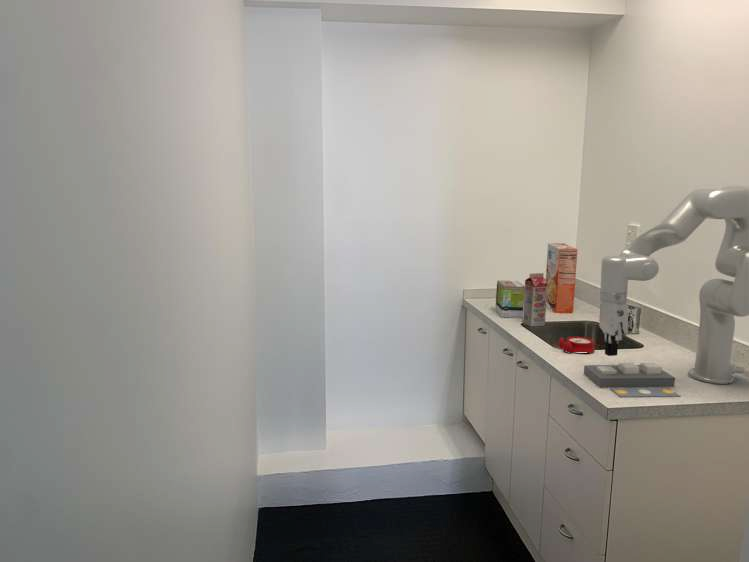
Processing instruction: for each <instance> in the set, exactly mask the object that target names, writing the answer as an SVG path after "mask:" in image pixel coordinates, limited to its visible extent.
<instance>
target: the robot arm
mask: <svg viewBox="0 0 749 562" xmlns="http://www.w3.org/2000/svg"><path fill="white" fill-rule="evenodd" d="M707 219H709V220H710V219H712V220H724V222H725V230H724V234H723V237H722V240H721V243H720V246H719V250H718V253H717V255H716V258H715V262H714V263H715V266H714V267H715V269H716V270H717V272H718V273H721V274H722V275H725V276H728V277H731V278H734V279H733V281H731V280H727V279H724V278H712V279H709V280H707V281H705V282H704V283H703V284H702V285H701V287H700V290H699V293H698V294H699V295H698V296H699V297H698V298H699V300H698V301H699V309H700V311H699V313H700V314H699V316H700V317H699V326H698V333H697V342H696V343H697V344H696V352H695V361H694V367H692V368H690V369H688V372H687V373H688V376H689V377H691V378H693V379H695V380H697V381H700V382H704V383H708V384H716V385H717V384H718V385H726V384H727V385H728V383H729V384H732V383H734V381H735V376H734V374H743V373H745V368H744V367H743V366H738V367H737V366H735V365H734V364H732V365H731V361H732V360H731V358H732V351H733V345H734V344H733V343H734V336H735V331H736V330H735V329H736V328H735V327H736V324H735V323H736V322H735V317H739V318H744V317H747V316H749V186H744V185H742V186H741V185H730V186H724V187H722V188H721V189H718V188H717V189H715V188H714V189H713V188H712V189H711V188H698V189H694V190H693V191H691V192H689V193H688V194H687V195H686V196H685V197H684V198H683V199H682V200H681V201H680V203H679V204H678V205H677V206H676V207H674V208H673V209H672V211H670V212H669V214H668V215H667V216H666V217H665V218H664V219H663V220H662V221H661V222H660V223H658V224H656V225H655V226H653V227H651V228H649V229H648V230H647V231H645V232H643V233H641V234H640V235H638V236H637V237H636V238H635V239H633V240H632V241H631V242H630V243H628V245H627V246H626V247H625V248H624V249H623V250H622V251H621V252H620V254H619V255H607V256H604V257H603V258H602V260H601V272H600V273H601V274H600V293H599V294H600V295H599V296H600V298H599V301H600V307H599V308H600V309H599V319H598V321H599V322H598V324H599V328H600V329H601V330H602V333H603V334H604V342H605V343H604V354H605V355H606V356H608V357H611V356H612V357H615V356H617V355H618V349H619V348H618V347H619V345H618V344H619V341H620V342H621V341H622V340H623V336H628V333H629V317H628V316H629V313H628V304H627V303H628V284H629V281H637V282H638V281H640V282H647V281H651V280H653V279H654V278H655V277H656V276H657V275H658V273H659V271H660V267H659V262H657V261H656V260H655V259H654V258H653V257H651V255H652V254H654V253H655V252H658V251H659V250H662V249H665V248H668V247H673V246H676V245H679V244H681V243H683V242H685V241H686V240H687V239H688V238H689V237H690V236H691V235H692V234H693V233H694V232H695V231H696V230H697V229H698V227H699V226H700V225H701V224H702V223H703V222H704V221H705V220H707ZM622 335H623V336H622Z"/></svg>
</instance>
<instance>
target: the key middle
mask: <svg viewBox="0 0 749 562" xmlns="http://www.w3.org/2000/svg"><path fill="white" fill-rule="evenodd" d="M618 365H619V366H618V370H619V371H621V372H622V373H624V374H639V367H638V366H637V365H638V364H636V363H633V362H618Z"/></svg>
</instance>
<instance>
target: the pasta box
mask: <svg viewBox="0 0 749 562" xmlns="http://www.w3.org/2000/svg"><path fill="white" fill-rule="evenodd" d="M577 261H578V249H577V248H576V247H573V246H571V245H570V244H569V245H568V244H567V243H561V242H560V243H556V242H555V243H552V242H551V243H550V242H548V243H547V253H546V269H545V280H546V281H547V282H548V284H547V299H546V303H547V304H548V305H549V306H550V308H551V309H552V310H551V309H550V308H549V309H550V310H551V311H553V313H554V314H574V303H575V301H574V299H575V287H576V286H575V285H576V273H577Z"/></svg>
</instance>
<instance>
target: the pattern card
mask: <svg viewBox="0 0 749 562" xmlns="http://www.w3.org/2000/svg"><path fill="white" fill-rule="evenodd" d="M609 390H610V391H611V390H612V391H611V392H613V394H616V396H617V397H619V398H681V395H680V394H679V393H677V392H676V391H674V390H672V389H671V387H628V388H609Z"/></svg>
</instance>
